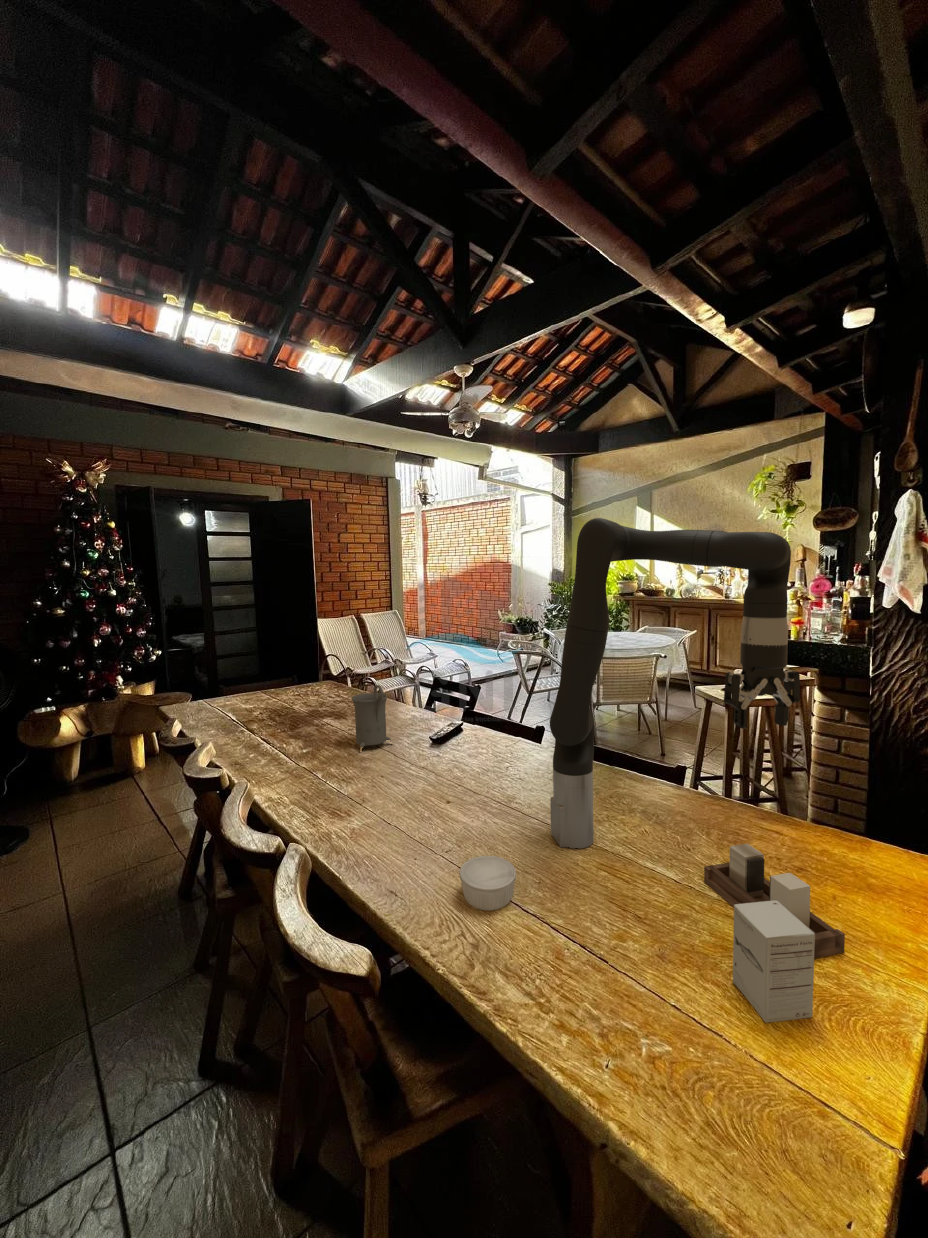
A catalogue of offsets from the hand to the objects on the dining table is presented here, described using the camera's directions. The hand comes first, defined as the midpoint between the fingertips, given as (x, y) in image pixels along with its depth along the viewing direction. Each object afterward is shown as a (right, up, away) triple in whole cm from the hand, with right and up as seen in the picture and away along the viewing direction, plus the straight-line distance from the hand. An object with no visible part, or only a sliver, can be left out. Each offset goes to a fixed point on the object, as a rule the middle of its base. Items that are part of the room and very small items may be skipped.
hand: (761, 726), depth 94 cm
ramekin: (-51, -35, +4) cm, 62 cm away
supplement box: (-12, -35, -22) cm, 43 cm away
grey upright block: (0, -33, -8) cm, 34 cm away
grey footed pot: (-91, -29, +97) cm, 136 cm away
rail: (-1, -33, -3) cm, 34 cm away
